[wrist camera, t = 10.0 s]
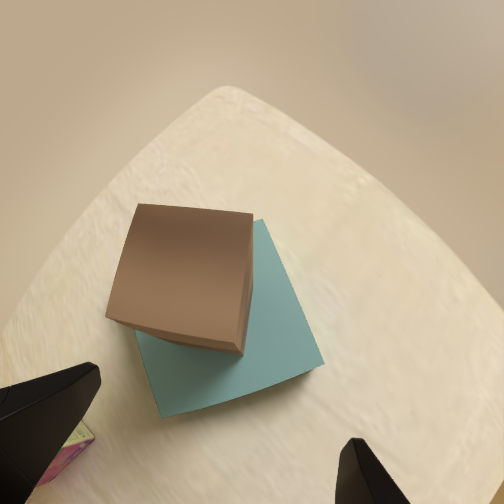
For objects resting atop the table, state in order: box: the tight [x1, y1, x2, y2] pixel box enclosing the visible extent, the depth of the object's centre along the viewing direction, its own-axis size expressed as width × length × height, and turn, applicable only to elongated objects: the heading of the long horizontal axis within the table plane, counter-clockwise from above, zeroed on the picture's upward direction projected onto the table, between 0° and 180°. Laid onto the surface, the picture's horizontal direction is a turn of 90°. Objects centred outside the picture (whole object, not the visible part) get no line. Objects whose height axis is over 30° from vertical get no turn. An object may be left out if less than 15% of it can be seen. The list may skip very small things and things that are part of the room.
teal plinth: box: [134, 219, 325, 418], centre depth 21 cm, size 12×12×3 cm
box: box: [35, 421, 95, 487], centre depth 12 cm, size 10×6×12 cm, turn 138°
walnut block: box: [105, 203, 253, 356], centre depth 15 cm, size 5×5×10 cm
